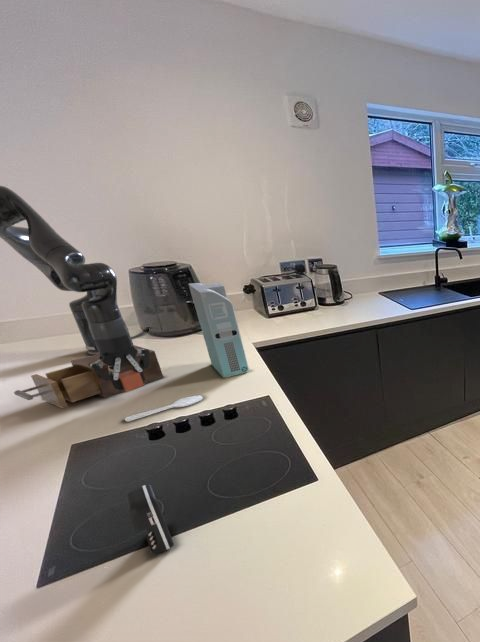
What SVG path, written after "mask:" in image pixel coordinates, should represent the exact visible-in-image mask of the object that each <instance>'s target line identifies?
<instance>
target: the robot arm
mask: <svg viewBox="0 0 480 642" xmlns="http://www.w3.org/2000/svg"><path fill="white" fill-rule="evenodd" d="M24 221H26V225H27V227H23V226H16V225H17V224H19V223H22V222H24ZM0 239H2V240H3V241H4V242H5V243H7V244H8V245H9V246H10V247H11V248H12V249H13V250H14V251H15V252H16V253H18V254H19V255H20V256H21V257H22V258H23V259H25V260H26V261H28V262H29V263H30V264H31V265H33V266H34V267H36V268H37V269H38V270H39V271H40V272H41V274H43V275H44V276H45V277H46V278H47V279H48V280H49V282H50V283H51V284H52V285H53V286H55V287H56V288H57V289H58V290H60V291H63V292H74V293H86V294H85V295H84V296H82V297H80V298H77V299H74V300H71V301H70V302H69V303H68V305H69V309H70V312H71V313H72V316H73V318H74V320H75V323H76V326H77V328H78V330H79V333H80V335H81V337H82V340H83V343H84V345H85V346H84V349H86V350H87V353H88V355H90V356H92V355H96V354H99V353H100V358H99V360H98V361H96V362H94V363H89V364H88V365H89V367H90V368H91V369H92V370H93V371H94V372H95V373H96V374H97V375H98V376H99V377H100V378H101V379H104V380H106V381H109V380H111V381H112V383H113V386H114V388H115V389H117V390H120V391H122V390H124V388H123V385H122V383H121V380H120V379H119V372H120V368H121V367H123V366H126V365H129V366H130V367H131V368H132V369H133V370H134V371H135V372H138V373H140V376H141V378H142V381H143V383H144V381H145V377H144V374H143V370H144V369H145V368H148V367H149V350H150V349H149V348H146V349H144V348H145V347H142V348H141V349H136V348H134V346H133V345H134V341H133V339H136V338H139V337H142V336H143V335H145V334H147V333H148V332H144V331H143V332H140V333H138V334H136V335H134V336H131V334H130V332H129V328H128V326H127V323H126V322H125V320H124V318H123V316H122V313H121V311H120V308H119V305H118V279H117V274H116V272H115V271H114V270H113V268H112V267H111V266H109V265H108V264H107V263H104V262H92V263H86V258H85V256H84V254H83V253H82V252H81V251H80V250H79V249H78V248H76V247H74V246H73V244H71V243H69V242H68V241H67V240H66V239H65V238H63V236H61V235H60V234H59V233H58V232H57V231H56V230H55V229H54V228H53V227H52V226H51V225H50V224H49V222H48V221H47V220H46V219H45V218H44V217H43V216H42V215H40V214H39V212H37V211H36V209H35V208H33V207H32V205H30V204H29V203H28V202H27V201H26V200H25V199H24V198H22V196H20V195H19V194H17V192H15V191H14V190H12V189H10V188H9V187H7V186H4V185H0ZM148 349H149V350H148ZM137 353H138V355H139V356H140V365H139V364H138V363H137V362H136V361H135V360H134V359H135V357H136V355H137ZM102 363H105V364H107V365H108V371H109V375H107V374H106V373H105V372H104V371H103V369H102V367H103V365H102Z"/></svg>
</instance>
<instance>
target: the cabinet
mask: <svg viewBox="0 0 480 642" xmlns="http://www.w3.org/2000/svg"><path fill="white" fill-rule="evenodd" d="M133 346H134V348H136V349H141V348H144V349H148V350H149V367H148V368H145V369H144V370H143V374H144V377H145V381H144V383H143V384H144V385H146V384H149V383H152V382H156V381H157V380H160V379H163V378H164V374H163V371H162V368H161V366H160V363H159V360H158V356H157V355H156V351H155V350H152V349H149V348H147V347H142V346H138V345H135V344H133ZM99 358H100V353H99V354H96V355H89V356H85V357H81V358H77V359H74V360H70V363H71V366H75V365H77V366H80V367H83V368H86V369H89V370H91V371H93V370H92V369H91V368H90V367H89V365H88V364H89V363H94V362H96V361H98V360H99ZM134 360H135V361H136V362H137V363H138V364H139V365H140V356H139V355H138V353H137V355H136V357H135V359H134ZM102 365H103V367H102V369H103V371H104V372H105V373H106V374H107V375H109V371H108V365H107V364H105V363H102ZM130 370H132V371H134V370H133V369H132V368H131V367H130V366H129V365H126V366H123V367H121V368H120V372H119V374H121V373H124V372H127V371H130ZM93 374H94V376H95V379H96V381H97V383H98V386H99V388H100V391H101V393H99V394H96V396H99V397H101V398H108V397H111V396H114V395H117V394H120V393H122V392H123V393H124V392H125V391H124V390H122V391H120V390H117V389H115V388H114V386H113V383H112V381H111V380H109V381H106V380H104V379H101V378H100V377H99V376H98V375H97V374H96V373H95V372H94V371H93Z"/></svg>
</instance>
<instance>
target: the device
mask: <svg viewBox="0 0 480 642" xmlns="http://www.w3.org/2000/svg"><path fill="white" fill-rule="evenodd" d="M188 287H189V290H190V295H191V298H192V302H193V304H194V308H195V311H196V315H197V319H198V322H199V326H200V329H201V332H202V336H203V339H204V343H205V346H206V349H207V350H206V351H207V353H208V356H209V360H210V365H212V367H213V368H214V369H215V370H216V371H217V372H218V373H219V375H220V376H221V377H222V378H223V379H226V378H230V377H233V376H237V375H242V374H245V373H248V372H249V371H250V369H249V364H248V360H247V356H246V352H245V349H244V344H243V340H242V336H241V333H240V328H239V325H238V320H237V316H236V311H235V308H234V305H233V302H232V301H231V300H230V299H229V298H228V295H227V292H226V288H225V285H223V284H222V283H221V282H218V283H217V282H216V283H208V284H204V283H201V282H191V283H188Z"/></svg>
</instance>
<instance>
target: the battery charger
mask: <svg viewBox="0 0 480 642" xmlns="http://www.w3.org/2000/svg"><path fill="white" fill-rule="evenodd" d="M124 499H125V500H124V501H125V504H126V508H127V512H128V514H129V517H130V520H131V524H132V526H133V528H134V530H135V531H136V532H142V531H145V530H147V531H148V533H147V534H146V542H147V545H148V548H149V551H150V552H151V554H153V555H156V554H160V553H162V552H164V551H167V550H170V549H172V548H173V547H174V546H175V543H174V540H173V537H172V535H171V532H170V530H169V527H168V525H167V522H166V519H165V517H164V515H163V512H162V510H161V507H160V504H159V502H158V500H157V497H156V494H155V492H154V489H153V487H152V485H151V484H150V483H149V484H144V485H142V486H139V487H137V488H135V489H132V490H130V491H128V492H127V493H126V494H125V496H124Z"/></svg>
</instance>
